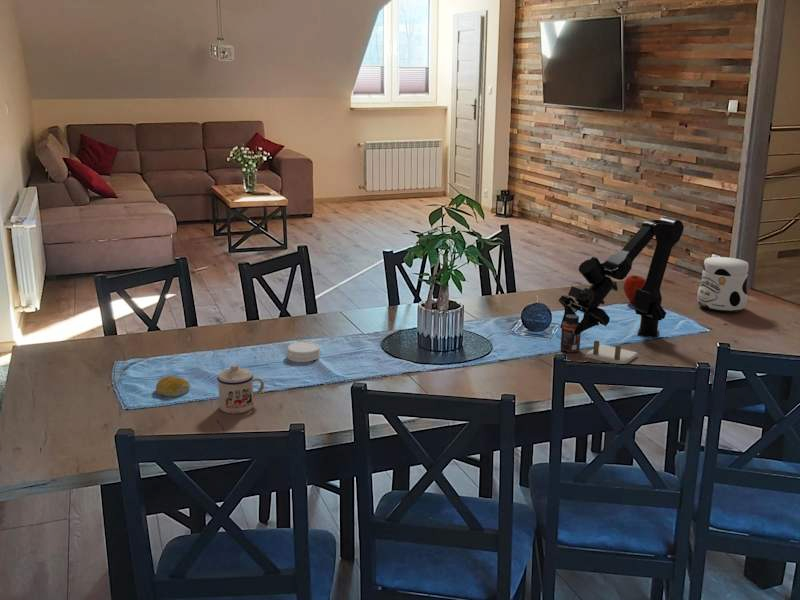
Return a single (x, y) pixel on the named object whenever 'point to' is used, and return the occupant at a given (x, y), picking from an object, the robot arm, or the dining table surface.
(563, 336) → the supplement bottle
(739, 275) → the milk container
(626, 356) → the pegboard
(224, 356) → the dining table surface
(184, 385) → the bread roll
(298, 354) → the white short cylinder
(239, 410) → the teacup with lid
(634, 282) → the apple
